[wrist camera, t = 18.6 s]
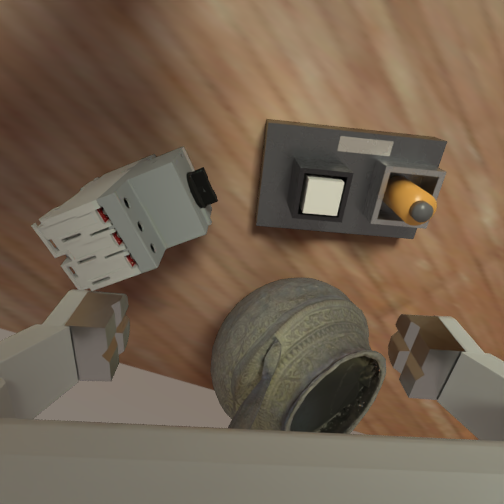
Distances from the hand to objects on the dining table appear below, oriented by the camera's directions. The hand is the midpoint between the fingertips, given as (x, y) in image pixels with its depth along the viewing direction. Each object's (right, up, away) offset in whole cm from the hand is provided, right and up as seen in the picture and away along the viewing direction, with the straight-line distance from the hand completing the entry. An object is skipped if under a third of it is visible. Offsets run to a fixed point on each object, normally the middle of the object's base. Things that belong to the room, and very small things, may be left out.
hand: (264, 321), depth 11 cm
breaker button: (+7, +10, +29) cm, 32 cm away
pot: (+5, -7, +42) cm, 43 cm away
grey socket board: (+11, +11, +33) cm, 36 cm away
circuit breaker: (-12, +10, +33) cm, 36 cm away
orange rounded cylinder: (+17, +9, +31) cm, 36 cm away
